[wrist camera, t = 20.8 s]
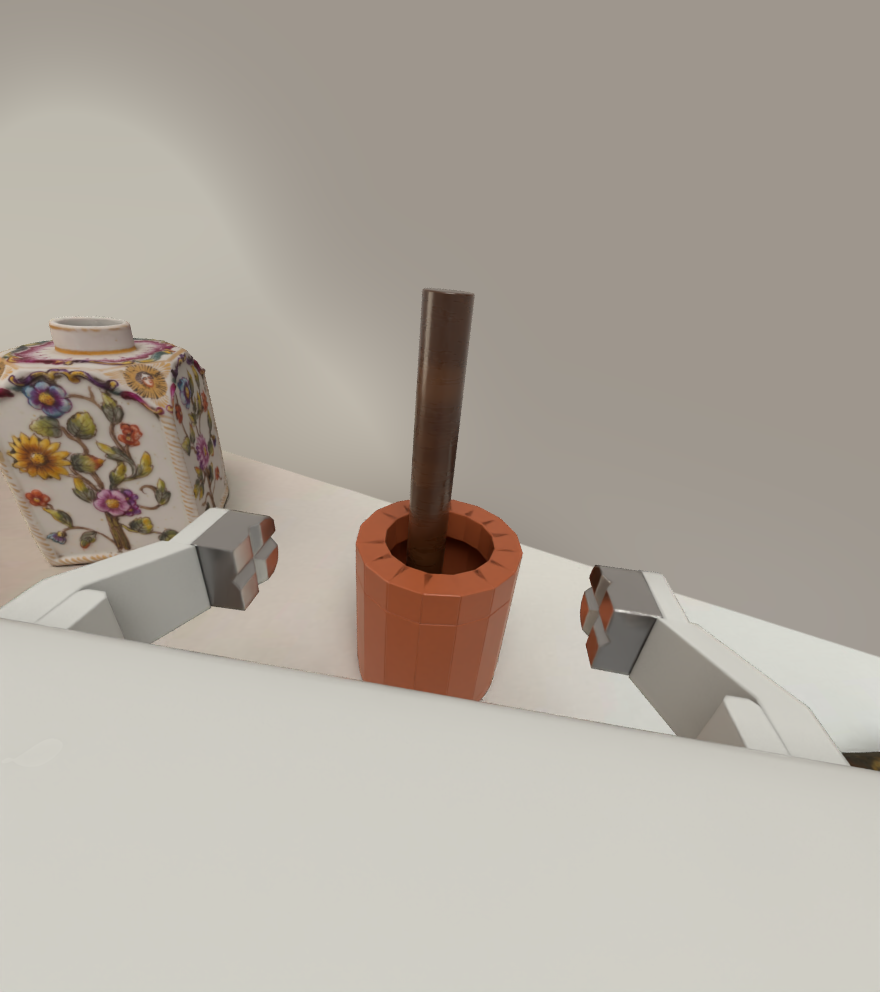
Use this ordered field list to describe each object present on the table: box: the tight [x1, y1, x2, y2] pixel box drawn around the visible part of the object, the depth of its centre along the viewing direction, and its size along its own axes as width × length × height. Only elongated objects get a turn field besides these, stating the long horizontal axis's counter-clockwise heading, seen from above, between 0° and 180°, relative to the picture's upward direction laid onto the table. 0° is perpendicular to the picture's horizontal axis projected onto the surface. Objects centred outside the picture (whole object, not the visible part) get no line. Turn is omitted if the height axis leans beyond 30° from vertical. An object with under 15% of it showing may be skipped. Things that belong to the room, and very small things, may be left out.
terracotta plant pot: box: [356, 500, 523, 701], centre depth 26 cm, size 9×9×10 cm
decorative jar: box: [0, 317, 229, 566], centre depth 34 cm, size 12×12×18 cm
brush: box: [406, 288, 474, 574], centre depth 22 cm, size 3×3×22 cm
